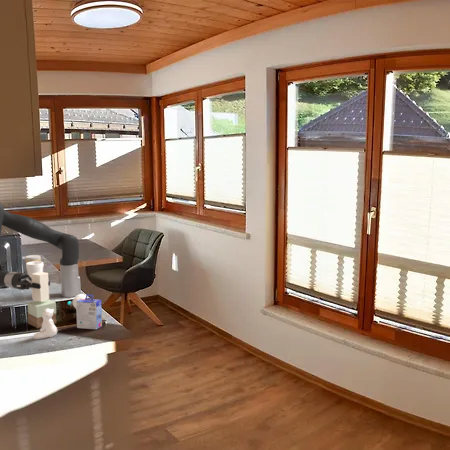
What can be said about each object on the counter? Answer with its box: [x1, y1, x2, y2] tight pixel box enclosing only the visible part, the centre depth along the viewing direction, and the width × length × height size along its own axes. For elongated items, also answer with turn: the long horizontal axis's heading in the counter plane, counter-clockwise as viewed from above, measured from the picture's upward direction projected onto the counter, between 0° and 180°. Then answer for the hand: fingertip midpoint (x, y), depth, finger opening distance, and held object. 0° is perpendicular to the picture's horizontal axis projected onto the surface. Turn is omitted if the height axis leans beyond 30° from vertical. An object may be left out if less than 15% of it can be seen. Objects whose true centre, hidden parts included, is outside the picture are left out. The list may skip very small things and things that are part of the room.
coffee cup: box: [24, 254, 42, 274], centre depth 317 cm, size 9×9×12 cm
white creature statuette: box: [33, 308, 58, 340], centre depth 213 cm, size 10×9×12 cm
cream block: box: [31, 271, 50, 302], centre depth 227 cm, size 5×5×12 cm
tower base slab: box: [27, 312, 57, 329], centre depth 229 cm, size 9×9×5 cm
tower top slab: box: [27, 298, 57, 318], centre depth 228 cm, size 9×9×5 cm
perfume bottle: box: [67, 293, 89, 309], centre depth 249 cm, size 8×8×12 cm
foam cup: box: [25, 260, 45, 277], centre depth 294 cm, size 10×9×13 cm
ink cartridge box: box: [75, 293, 103, 330], centre depth 223 cm, size 10×6×14 cm, turn 78°
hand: (44, 284), depth 225 cm, fingers closed on cream block, 5 cm apart
